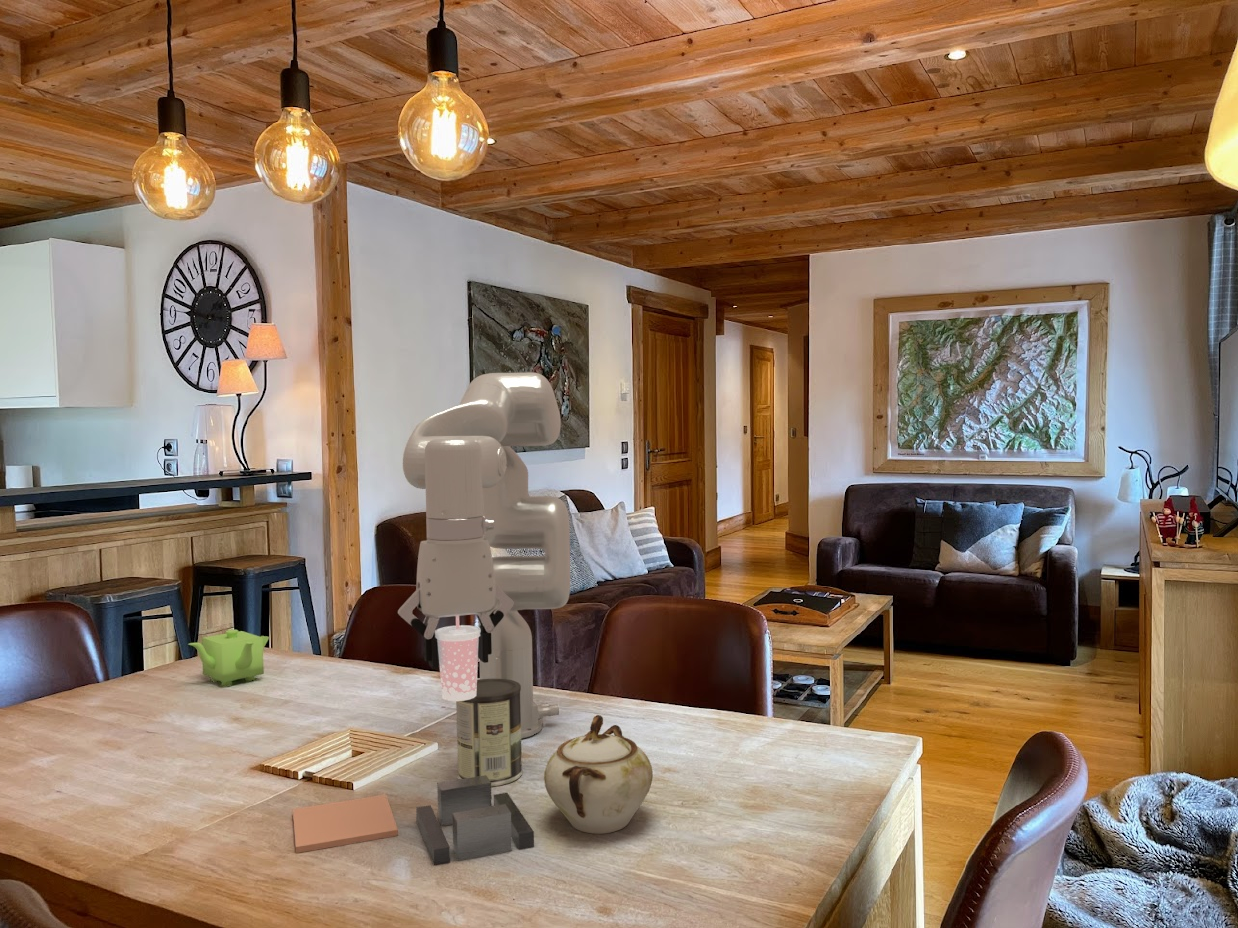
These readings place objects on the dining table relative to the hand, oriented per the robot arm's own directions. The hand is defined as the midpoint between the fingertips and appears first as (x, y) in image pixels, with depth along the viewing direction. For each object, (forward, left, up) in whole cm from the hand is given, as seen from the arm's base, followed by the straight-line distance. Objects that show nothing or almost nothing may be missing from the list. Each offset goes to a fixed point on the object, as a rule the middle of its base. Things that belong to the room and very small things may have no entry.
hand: (458, 661), depth 123 cm
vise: (-1, +1, -23) cm, 23 cm away
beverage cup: (0, 0, -5) cm, 5 cm away
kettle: (+32, -97, -24) cm, 105 cm away
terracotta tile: (+15, -9, -23) cm, 29 cm away
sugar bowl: (-18, +4, -24) cm, 30 cm away
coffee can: (-8, -19, -24) cm, 31 cm away
